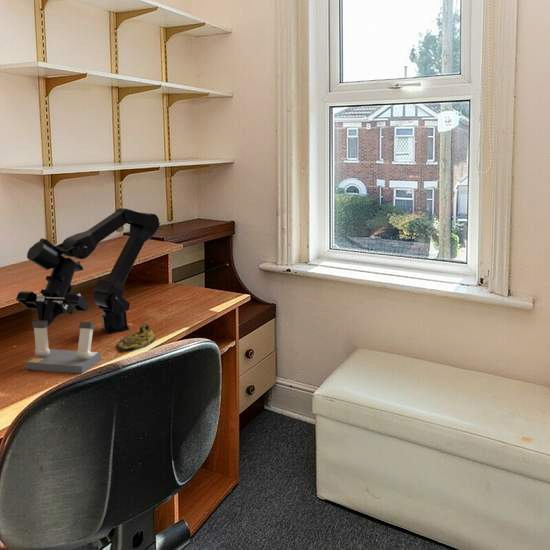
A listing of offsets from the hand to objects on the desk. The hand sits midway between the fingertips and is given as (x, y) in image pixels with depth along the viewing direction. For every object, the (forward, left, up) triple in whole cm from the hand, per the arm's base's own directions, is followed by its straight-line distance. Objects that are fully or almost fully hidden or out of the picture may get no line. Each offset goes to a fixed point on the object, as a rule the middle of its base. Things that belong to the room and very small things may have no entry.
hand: (42, 330), depth 146 cm
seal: (-24, +1, -9) cm, 26 cm away
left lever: (+1, +1, -5) cm, 6 cm away
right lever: (-8, +10, -5) cm, 13 cm away
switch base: (-3, +5, -9) cm, 11 cm away
